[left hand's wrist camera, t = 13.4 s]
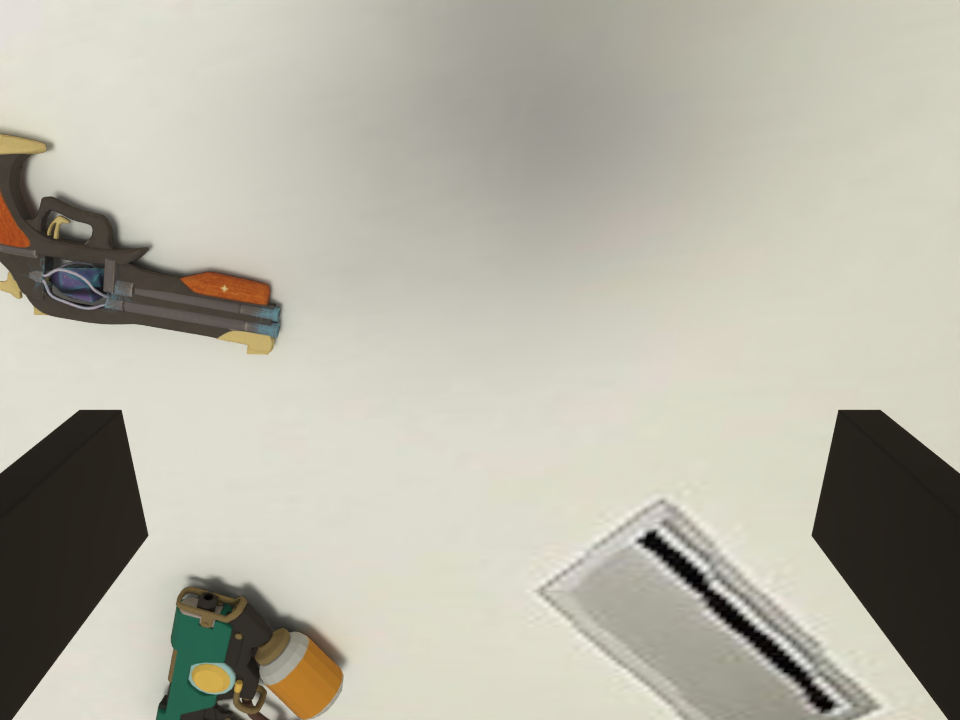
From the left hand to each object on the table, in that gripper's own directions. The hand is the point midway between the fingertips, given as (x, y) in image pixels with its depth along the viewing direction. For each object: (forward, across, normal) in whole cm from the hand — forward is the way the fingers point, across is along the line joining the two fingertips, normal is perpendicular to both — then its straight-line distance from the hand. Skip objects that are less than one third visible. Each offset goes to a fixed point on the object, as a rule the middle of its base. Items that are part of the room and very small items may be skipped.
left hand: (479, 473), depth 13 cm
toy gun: (+29, -21, -2) cm, 36 cm away
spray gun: (+29, -18, -36) cm, 50 cm away
